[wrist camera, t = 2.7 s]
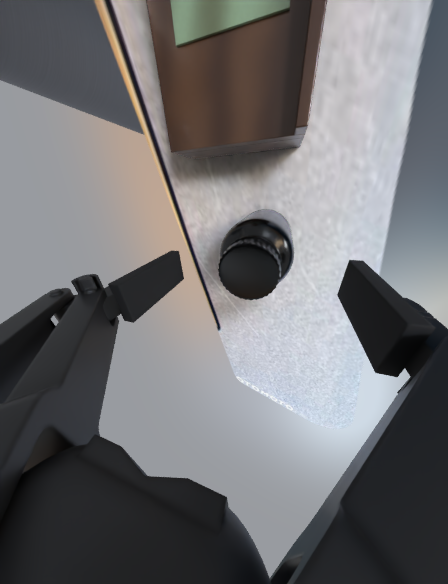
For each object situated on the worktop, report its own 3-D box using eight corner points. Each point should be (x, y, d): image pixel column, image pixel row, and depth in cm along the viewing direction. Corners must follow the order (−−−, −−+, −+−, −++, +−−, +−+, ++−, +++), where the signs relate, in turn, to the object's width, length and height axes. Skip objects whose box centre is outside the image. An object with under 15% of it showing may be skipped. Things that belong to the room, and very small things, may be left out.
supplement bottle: (303, 235, 21) (319, 276, 11) (263, 270, 25) (249, 323, 15) (264, 195, 20) (245, 202, 10) (229, 238, 24) (190, 272, 14)
